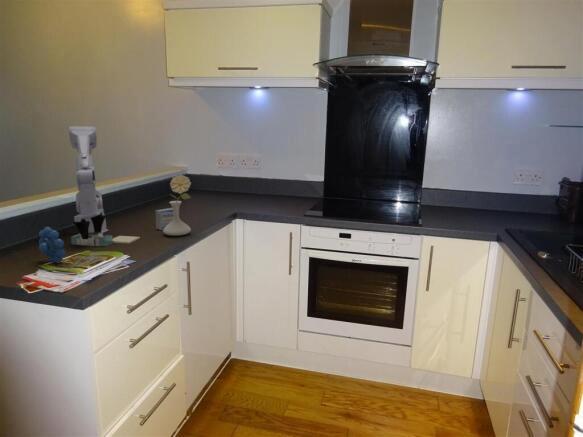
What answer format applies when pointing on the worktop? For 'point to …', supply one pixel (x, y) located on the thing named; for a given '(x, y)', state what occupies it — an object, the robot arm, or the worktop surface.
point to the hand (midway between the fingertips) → (91, 236)
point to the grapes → (51, 245)
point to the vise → (99, 242)
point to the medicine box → (163, 218)
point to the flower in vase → (176, 225)
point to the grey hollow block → (91, 238)
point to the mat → (125, 239)
